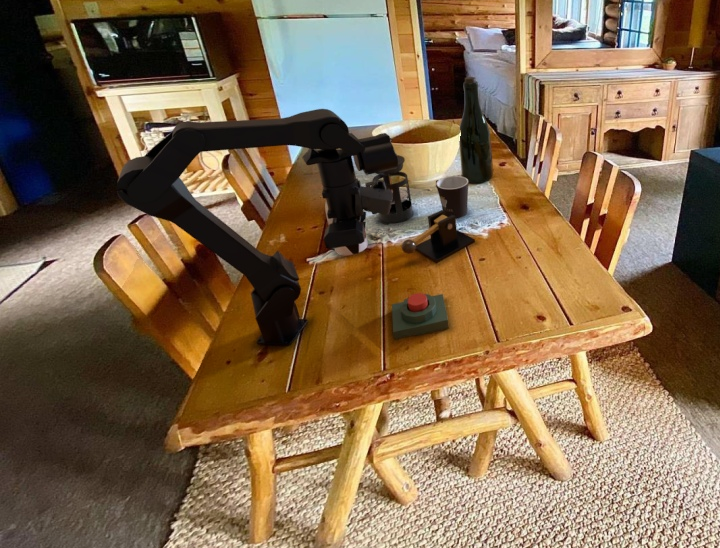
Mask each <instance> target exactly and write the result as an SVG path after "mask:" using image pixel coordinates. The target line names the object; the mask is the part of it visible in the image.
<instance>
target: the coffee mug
mask: <svg viewBox="0 0 720 548" xmlns="http://www.w3.org/2000/svg"><path fill="white" fill-rule="evenodd" d="M435 187H436V189H437V193H438V196H439V200H440V204H441V209H442V210H444V211H445V216H447V217H449V216H451V215H454V216H455V219H456V220H457V219H462V218H464V217H466V215H467V214H468V202H469V201H468V200H469V199H468V197H469V182H468V179H467V178H465V177H462V175H461V176H460V175H450V176H445V177H442V178H440V179H437V180H436V181H435Z"/></svg>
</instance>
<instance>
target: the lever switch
mask: <svg viewBox="0 0 720 548" xmlns="http://www.w3.org/2000/svg"><path fill="white" fill-rule="evenodd" d="M441 215H445V211H444V210H443V209H441V210H439V211H436V212H434V213H432V214H430V215H428V216H427V221H428V229H429V228H430V227H432V226H433V225H435V223H434V220H435V219H437V218H438V217H440V216H441ZM456 220H457V219H455V216H454V215H451V216H449V217H447V218H445V219H443V220H441V221H439V222H438V225H439V229H438V230H436V231H435V232H434V233H432V234H431V235H429V238H428V239H425V240H423V241H421V242H420V243H418V244H417V245H416V249H415V252H417V253H419V254H421V255H422V256H424V257H426V258H427V259H429V260H431V261H432V262H434V263H436V264H439V263H441V262H442V261H444V260H446V259H448V258H449V257H451V256H453V255H455V254H456V253H458V252H460V251H462V250H463V249H465V248H467V247H470V246H471V245H473V244H474V243H476V239H475V238H473V237H471V236H469V235H467V234H465V233H463V232H461V231H460V230H458V229H457V221H456Z"/></svg>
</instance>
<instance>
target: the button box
mask: <svg viewBox="0 0 720 548" xmlns="http://www.w3.org/2000/svg"><path fill="white" fill-rule="evenodd" d="M424 294H425V295H426V296H427V302H428V306H427V308H426V309H425V310H423V311H420V312H412V311H410V310H409V307H408V302H407V300H408V298H409V297H410V296H408V297H407V298H405V299H404V300H403V301H401V302H396V303H392V304H391V315H392V317H391V319H392V334H393V339H394V340H398V339H402V338H406V337H407V338H408V337H411V336H414V337H416V336H421V335H425V334H430V333H434V332H438V331H443V330H448V329H450V326H449V325H450V324H449V317H448V313H447V309H446V304H445V297H444V294H443V293H440V294H435V295H430V294H428V293H424Z"/></svg>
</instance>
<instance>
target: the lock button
mask: <svg viewBox="0 0 720 548" xmlns="http://www.w3.org/2000/svg"><path fill="white" fill-rule="evenodd" d="M425 294H426V293H422V292H417V293H416V292H415V293H412V294H411V295H409V296H408V297H409V298H408V297H407V298H408V300H407V302H408V307H409V310H410V311H412V312H420V311H423V310H425V309H426V308H427V306H428V302H427V296H426V295H425Z"/></svg>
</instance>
